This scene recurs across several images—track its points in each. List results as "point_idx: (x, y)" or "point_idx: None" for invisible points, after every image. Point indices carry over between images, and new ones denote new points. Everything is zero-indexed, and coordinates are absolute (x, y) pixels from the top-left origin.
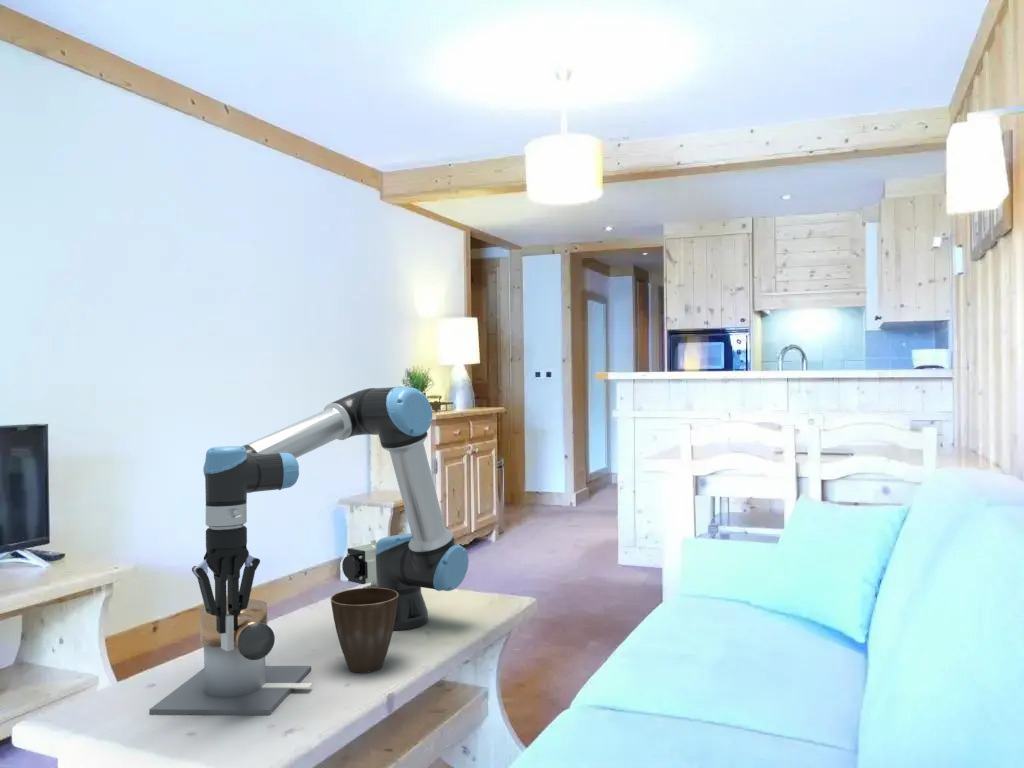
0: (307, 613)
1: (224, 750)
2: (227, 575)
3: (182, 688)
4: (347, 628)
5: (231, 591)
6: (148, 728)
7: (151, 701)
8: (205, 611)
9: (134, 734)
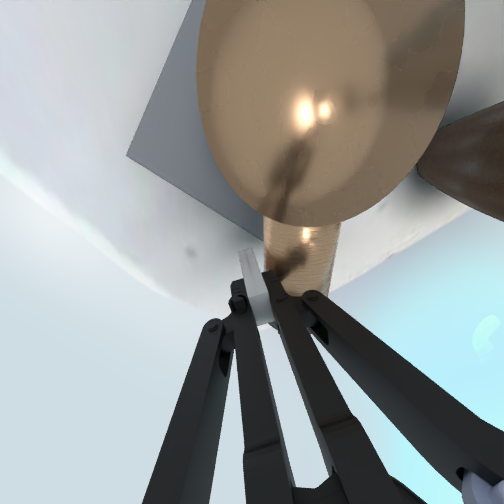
0: None
1: (219, 301)
2: (325, 444)
3: (177, 70)
4: (477, 195)
5: (297, 382)
6: (136, 210)
7: (122, 80)
8: (221, 77)
9: (120, 220)
